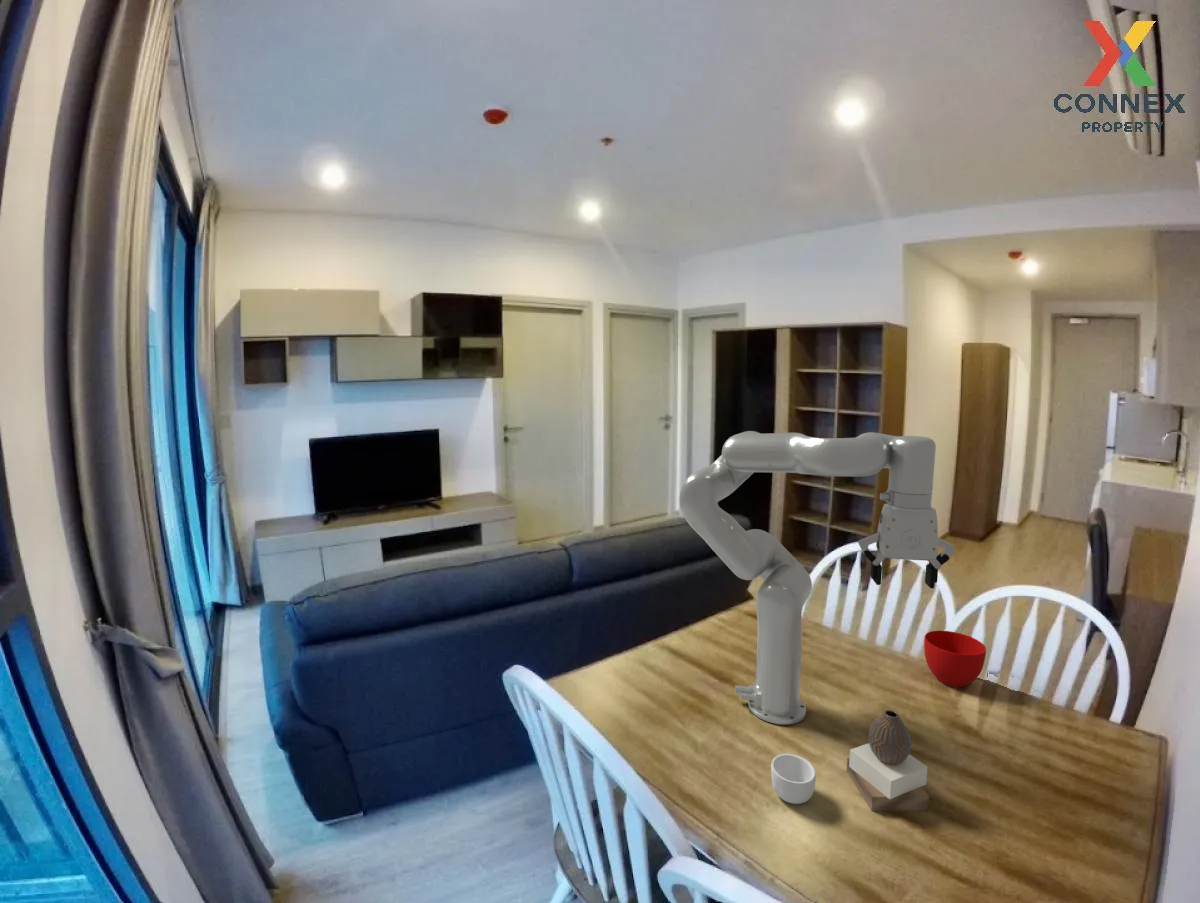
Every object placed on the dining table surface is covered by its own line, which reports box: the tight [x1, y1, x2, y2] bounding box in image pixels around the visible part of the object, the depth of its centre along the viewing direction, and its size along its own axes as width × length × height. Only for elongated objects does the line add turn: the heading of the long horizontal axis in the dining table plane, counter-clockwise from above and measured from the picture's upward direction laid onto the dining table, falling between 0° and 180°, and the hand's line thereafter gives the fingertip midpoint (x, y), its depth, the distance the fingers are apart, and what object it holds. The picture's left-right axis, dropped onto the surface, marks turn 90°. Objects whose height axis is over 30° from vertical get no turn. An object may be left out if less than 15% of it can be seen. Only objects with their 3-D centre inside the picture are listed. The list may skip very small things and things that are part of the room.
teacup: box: [770, 753, 817, 805], centre depth 105 cm, size 10×8×5 cm
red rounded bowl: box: [923, 630, 987, 688], centre depth 143 cm, size 13×17×10 cm
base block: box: [846, 757, 930, 812], centre depth 106 cm, size 10×10×4 cm
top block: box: [849, 742, 928, 799], centre depth 105 cm, size 9×9×4 cm
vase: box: [868, 709, 912, 765], centre depth 105 cm, size 7×7×9 cm
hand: (902, 584), depth 114 cm, fingers open, 9 cm apart
